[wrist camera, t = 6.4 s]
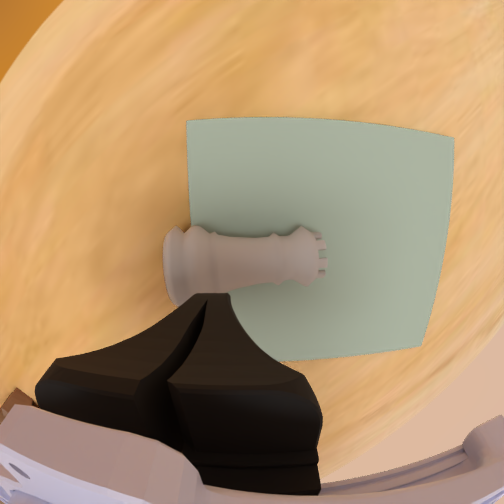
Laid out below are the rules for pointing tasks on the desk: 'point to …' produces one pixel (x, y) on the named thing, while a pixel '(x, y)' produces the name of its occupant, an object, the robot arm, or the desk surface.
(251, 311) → the mat
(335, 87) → the desk surface
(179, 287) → the rook chess piece
